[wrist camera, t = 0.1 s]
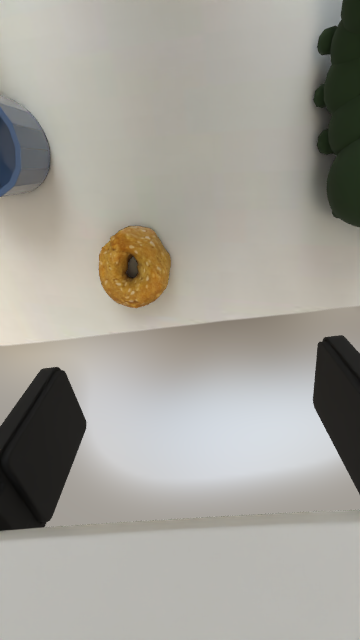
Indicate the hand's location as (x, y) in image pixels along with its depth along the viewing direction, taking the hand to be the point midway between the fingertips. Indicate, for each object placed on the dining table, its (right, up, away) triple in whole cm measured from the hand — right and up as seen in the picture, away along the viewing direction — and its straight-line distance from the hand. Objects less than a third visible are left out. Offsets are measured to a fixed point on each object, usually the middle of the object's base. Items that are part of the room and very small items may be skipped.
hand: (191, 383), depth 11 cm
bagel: (-7, +10, +30) cm, 33 cm away
